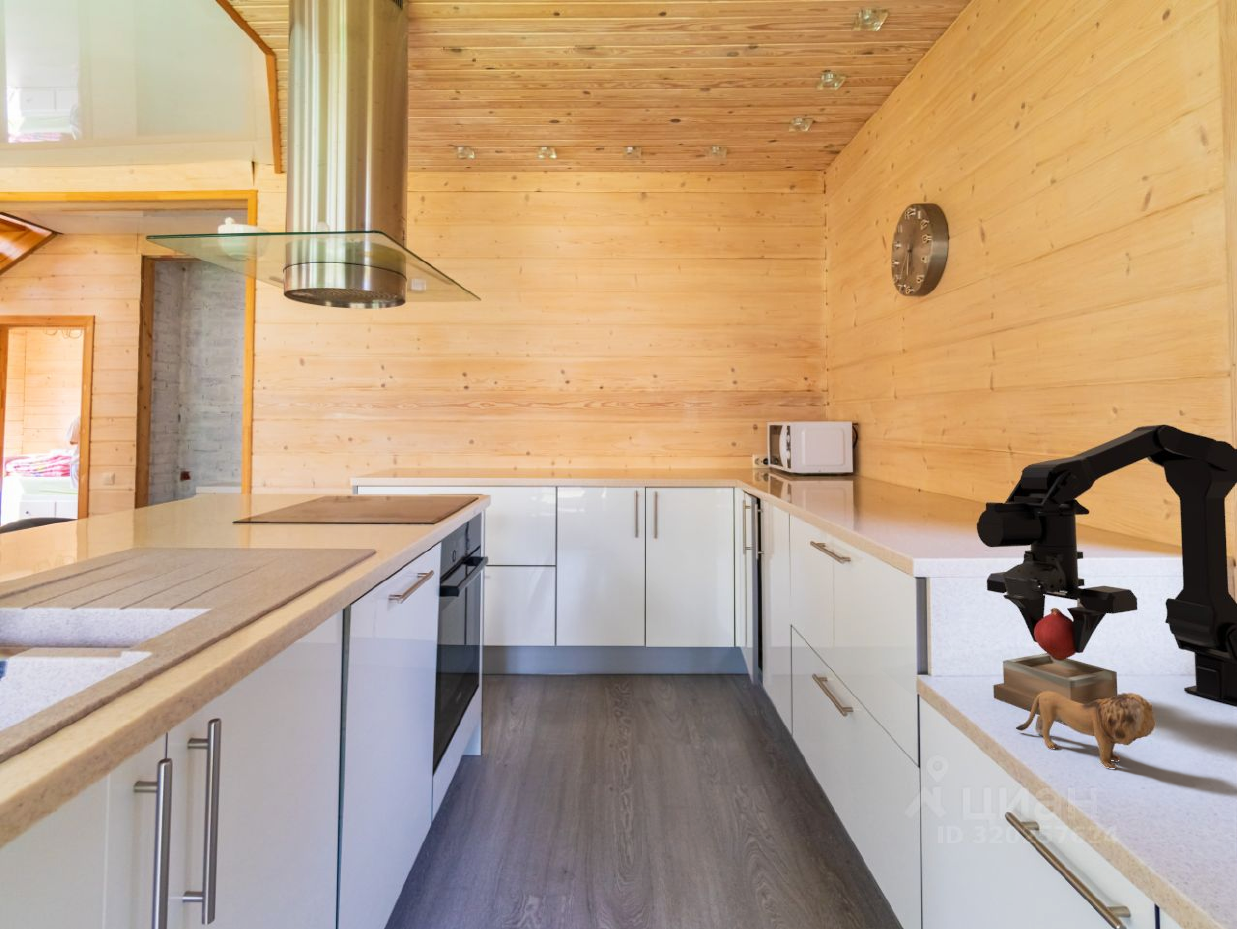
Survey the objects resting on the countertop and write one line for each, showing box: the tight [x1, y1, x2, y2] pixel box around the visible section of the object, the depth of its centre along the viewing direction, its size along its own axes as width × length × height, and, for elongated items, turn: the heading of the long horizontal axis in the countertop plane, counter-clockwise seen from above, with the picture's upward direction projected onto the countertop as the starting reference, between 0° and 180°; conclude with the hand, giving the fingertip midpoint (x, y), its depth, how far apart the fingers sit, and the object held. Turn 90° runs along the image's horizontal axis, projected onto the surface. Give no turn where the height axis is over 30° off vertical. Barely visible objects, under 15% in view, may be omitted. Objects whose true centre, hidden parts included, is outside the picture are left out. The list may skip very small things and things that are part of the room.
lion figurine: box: [1015, 691, 1156, 769], centre depth 75 cm, size 15×5×9 cm, turn 36°
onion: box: [1034, 607, 1077, 661], centre depth 89 cm, size 6×6×8 cm
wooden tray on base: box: [992, 652, 1119, 723], centre depth 89 cm, size 12×12×6 cm
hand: (1057, 647), depth 89 cm, fingers closed on onion, 6 cm apart
